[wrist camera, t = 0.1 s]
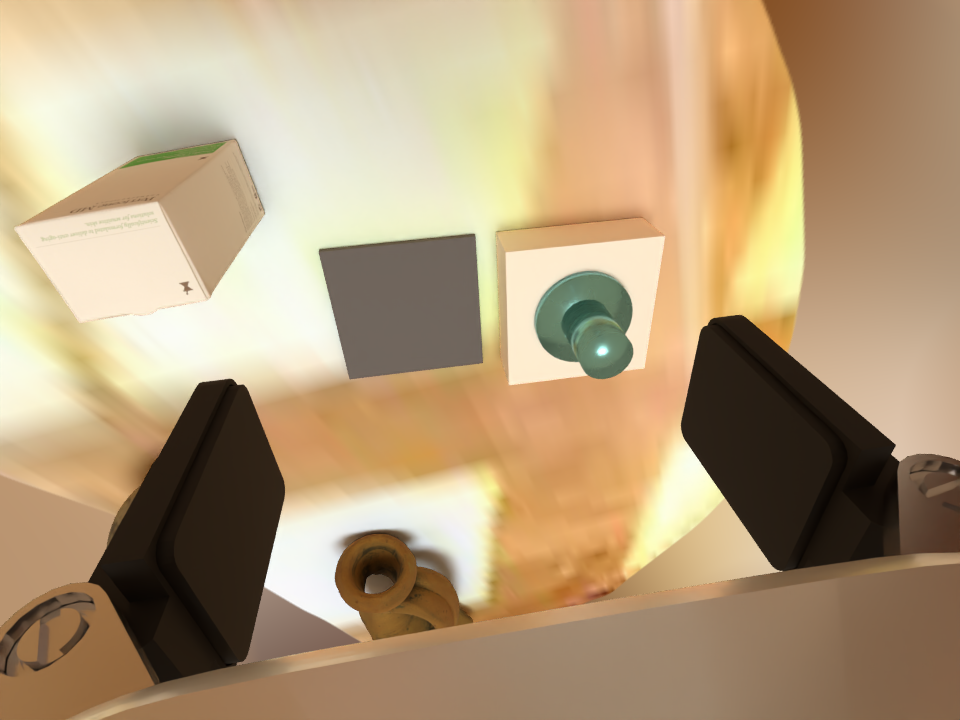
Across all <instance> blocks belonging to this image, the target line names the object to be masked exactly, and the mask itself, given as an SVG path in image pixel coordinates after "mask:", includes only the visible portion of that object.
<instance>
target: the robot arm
mask: <svg viewBox="0 0 960 720" xmlns="http://www.w3.org/2000/svg"><path fill="white" fill-rule="evenodd" d="M681 430H682V434H683V437H684V439H685V441H686V442H687V444H688V445H689V446H690V448H691V449H692V451H693V452H694V454H695V455H696V457H697V458H698V459H699V461H700V462H701V464H702V465H703V467H704V468H705V470H706V471H707V473H708V474H709V475H710V477H711V478H712V480H713V481H714V483H715V484H716V486H717V487H718V488H719V490H720V491H721V493H722V494H723V496H724V497H725V499H726V500H727V501H728V503H729V504H730V506H731V507H732V509H733V510H734V511H735V513H736V515H737V516H738V517H739V519H740V520H741V522H742V523H743V525H744V526H745V527H746V529H747V530H748V532H749V533H750V535H751V536H752V538H753V539H754V541H755V542H756V544H757V545H758V546H759V548H760V549H761V551H762V552H763V554H764V555H765V557H766V558H767V559H768V561H769V562H770V564H771V565H772V566H773V567H774V568H775V569H777V570H780V571H783V572H777V573H770V574H764V575H758V576H752V577H746V578H740V579H734V580H727V581H721V582H715V583H709V584H703V585H697V586H691V587H685V588H678V589H673V590H666V591H660V592H654V593H648V594H642V595H636V596H630V597H624V598H618V599H612V600H606V601H601V602H594V603H588V604H582V605H576V606H571V607H565V608H559V609H553V610H547V611H541V612H535V613H529V614H523V615H517V616H512V617H506V618H500V619H494V620H488V621H482V622H476V623H470V624H465V625H459V626H453V627H447V628H442V629H436V630H430V631H424V632H419V633H413V634H407V635H402V636H396V637H390V638H384V639H379V640H373V641H367V642H361V643H356V644H350V645H345V646H339V647H333V648H327V649H321V650H317V651H311V652H306V653H300V654H295V655H290V656H285V657H279V658H275V659H269V660H264V661H259V662H253V663H248V664H243V665H238V666H236V665H237V662H242V661H244V660H245V659H246V657H247V654H248V651H249V647H250V643H251V639H252V634H253V630H254V626H255V622H256V617H257V613H258V609H259V604H260V600H261V596H262V592H263V587H264V583H265V579H266V574H267V570H268V566H269V562H270V557H271V553H272V549H273V544H274V540H275V536H276V532H277V527H278V523H279V519H280V514H281V510H282V506H283V502H284V497H285V485H284V480H283V477H282V475H281V472H280V470H279V467H278V465H277V462H276V460H275V457H274V455H273V452H272V450H271V447H270V445H269V442H268V440H267V437H266V435H265V432H264V430H263V427H262V424H261V422H260V419H259V417H258V414H257V412H256V409H255V407H254V404H253V402H252V399H251V397H250V394H249V392H248V390H247V388H246V387H245V385H237V384H236V382H235V381H234V380H233V379H225V380H217V381H209V382H202V383H199V384H198V385H197V387H196V389H195V390H194V392H193V394H192V396H191V398H190V400H189V401H188V403H187V405H186V407H185V409H184V411H183V413H182V414H181V416H180V418H179V420H178V422H177V424H176V425H175V427H174V429H173V431H172V433H171V435H170V436H169V438H168V440H167V442H166V444H165V446H164V447H163V449H162V451H161V453H160V455H159V457H158V458H157V459H156V461H155V462H154V463H153V465H152V466H151V468H150V470H149V472H148V474H147V475H146V477H145V479H144V481H143V483H142V485H141V486H140V488H139V490H138V492H137V494H136V496H135V497H134V499H133V501H132V503H131V505H130V506H129V508H128V510H127V512H126V514H125V516H124V517H123V519H122V521H121V523H120V525H119V527H118V528H117V530H116V532H115V534H114V536H113V538H112V539H111V541H110V543H109V545H108V547H107V549H106V550H105V552H104V554H103V556H102V558H101V560H100V561H99V563H98V565H97V567H96V569H95V570H94V572H93V574H92V576H91V578H90V580H89V581H88V582H82V583H71V584H68V585H64V586H61V587H58V588H55V589H52V590H50V591H48V592H47V593H45V594H43V595H41V596H39V597H37V598H35V599H33V600H32V601H31V602H29V603H28V604H26V605H25V606H24V607H22V608H21V609H20V610H18V611H17V612H16V613H14V614H13V616H12V617H10V618H9V619H8V620H7V621H6V622H5V623H4V624H3V625H2V626H1V627H0V720H960V461H959V460H956V459H953V458H950V457H945V456H940V455H935V454H916V455H912V456H907V457H906V458H905V459H903V460H902V461H901V462H899V461H898V460H897V459H895V457H893V456H892V455H891V453H892V451H893V449H894V448H895V446H896V445H895V444H894V443H893V442H892V441H891V440H889V439H888V438H887V437H886V436H885V435H884V434H882V433H881V432H880V431H879V430H878V429H876V428H875V427H874V426H873V425H872V424H871V423H869V422H868V421H867V420H866V419H865V418H864V417H862V416H861V415H860V414H859V413H858V412H856V411H855V410H854V409H853V408H852V407H851V406H849V405H848V404H847V403H846V402H845V401H844V400H842V399H841V398H840V397H839V396H838V395H836V394H835V393H834V392H833V391H832V390H831V389H829V388H828V387H827V386H826V385H825V384H823V383H822V382H821V381H820V380H819V379H817V378H816V377H815V376H814V375H813V374H812V373H811V372H809V371H808V370H807V369H806V368H804V367H803V366H802V365H801V364H800V363H799V362H798V361H796V360H795V359H794V358H793V357H792V356H791V355H789V354H788V353H787V352H786V351H785V350H783V349H782V348H781V347H780V346H779V345H778V344H776V343H775V342H774V341H773V340H772V339H770V338H769V337H768V336H767V335H766V334H765V333H763V332H762V331H761V330H760V329H759V328H758V327H756V326H755V325H754V324H753V323H752V322H750V321H749V320H748V319H747V318H746V317H744V316H742V315H735V316H727V317H719V318H713V319H711V320H710V322H709V323H708V326H705V327H703V328H702V330H701V332H700V336H699V341H698V346H697V351H696V355H695V360H694V365H693V369H692V374H691V379H690V384H689V388H688V393H687V398H686V402H685V407H684V412H683V416H682V421H681Z"/></svg>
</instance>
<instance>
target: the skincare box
mask: <svg viewBox="0 0 960 720" xmlns="http://www.w3.org/2000/svg"><path fill="white" fill-rule="evenodd" d="M264 214H265V213H264V210H263V208H262V205H261V203H260V200H259V197H258V195H257V192H256V189H255V187H254V184H253V182H252V179H251V177H250V174H249V172H248V169H247V166H246V164H245V161H244V159H243V156H242V154H241V151H240V149H239V146H238V144H237V141H236V140H229V141H223V142H218V143H212V144H205V145H199V146H194V147H189V148H183V149H178V150H173V151H167V152H162V153H156V154H149V155H143V156H138V157H135V158H134V159H132V160H130V161H128V162H127V163H125V164H123V165H122V166H120V167H118V168H116V169H115V170H113V171H111V172H110V173H108V174H106V175H104V176H103V177H101V178H99V179H98V180H96V181H94V182H92V183H91V184H89V185H87V186H85V187H84V188H82V189H80V190H79V191H77V192H75V193H73V194H72V195H70V196H68V197H67V198H65V199H63V200H61V201H60V202H58V203H56V204H54V205H53V206H51V207H49V208H48V209H46V210H44V211H43V212H41V213H39V214H37V215H36V216H34V217H32V218H31V219H29V220H27V221H26V222H24V223H22V224H20V225H17V226H15V227H14V229H15V231H16V232H17V234H18V235H19V236H20V238H21V239H22V241H23V242H24V244H25V245H26V247H27V248H28V249H29V251H30V252H31V254H32V255H33V256H34V258H35V259H36V261H37V262H38V264H39V265H40V266H41V268H42V269H43V271H44V272H45V274H46V275H47V277H48V278H49V280H50V281H51V282H52V284H53V285H54V287H55V288H56V290H57V291H58V293H59V294H60V295H61V297H62V298H63V300H64V301H65V303H66V304H67V306H68V307H69V309H70V310H71V311H72V313H73V314H74V316H75V317H76V319H77V320H78V322H80V323H84V322H88V321H94V320H100V319H106V318H113V317H119V316H125V315H138V316H143V315H149V314H152V313H154V312H156V311H157V310H158V309H164V308H169V307H175V306H181V305H186V304H192V303H197V302H202V301H206V300H208V299H209V298H210V297H211V295H212V292H213V291H214V289H215V287H216V286H217V284H218V283H219V281H220V280H221V278H222V277H223V275H224V274H225V272H226V271H227V269H228V268H229V266H230V265H231V263H232V262H233V260H234V259H235V257H236V256H237V254H238V253H239V251H240V250H241V248H242V247H243V245H244V244H245V242H246V241H247V239H248V238H249V236H250V235H251V233H252V232H253V231H254V229H255V228H256V226H257V225H258V223H259V222H260V220H261V219H262V218H263V216H264Z"/></svg>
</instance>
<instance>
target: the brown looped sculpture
mask: <svg viewBox="0 0 960 720" xmlns="http://www.w3.org/2000/svg"><path fill="white" fill-rule="evenodd" d="M372 574H375V575H378V574H382V575H386V576H387V577H389V578H390V579H391V580H392V581H393V582H394V583H395V584H394V585H393V586H392V587H391V588H390V589H388V590H386V591H384V592H382V593H378V594H368V593H365V584H366V579H367V577H369V576H370V575H372ZM335 583H336V586H337V588H338V590H339V593H340V595H341V597H342V598H343V600H344V601H345V602H346V603H347V604H348V605H349V606H350V607H352V608H353V609H355V610H357V611H359V614H360V617H361V619H362V621H363V623H364V624H365V626H366V628H367V630H368V631H369V633H370V635H371V637H372V639H373V640H379V639H384V638H390V637H396V636H402V635H407V634H413V633H419V632H424V631H430V630H436V629H442V628H447V627H453V626H459V625H465V624H470V623H473V620H472V618H471V617H470V616H468V615H467V614H466V613H465V612H464V611H463V610H462V609H461V608H460V607H459V600H458V596H457V593H456V591H455V589H454V587H453V586H452V584H451V582H450V581H449V580H448V579H447V578H446V577H445V576H443V575H442V574H440V573H438V572H436V571H434V570H432V569H428V568H424V567H418V566H417V565H416V560H415V557H414V555H413V554H412V552H411V551H410V550H409V548H408V547H407V546H406V545H405V544H404V543H403V542H402V541H401V540H399V539H398V538H396V537H394V536H391V535H388V534H371V535H366V536H364V537H362V538H360V539H358V540H356V541H354V542H353V543H352V544H350V545H349V546H348V547H347V548H346V549H345V550H344V552H343V553H342V555H341V557H340V559H339V561H338V564H337V567H336V572H335Z"/></svg>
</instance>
